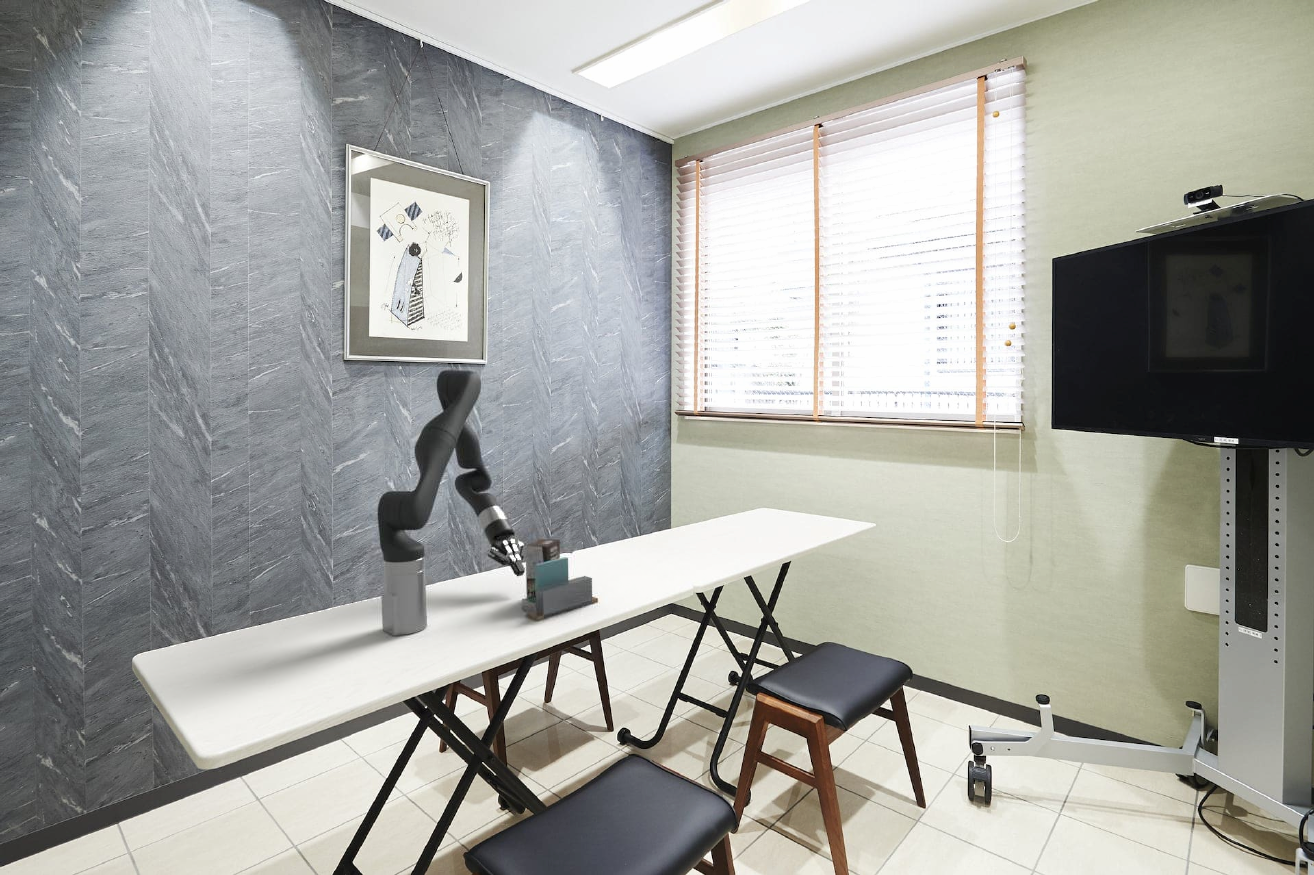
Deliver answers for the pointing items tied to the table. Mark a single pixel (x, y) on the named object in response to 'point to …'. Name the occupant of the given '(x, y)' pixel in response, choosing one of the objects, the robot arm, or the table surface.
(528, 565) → the coffee box
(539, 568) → the teal flat panel
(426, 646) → the table surface
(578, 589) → the grey piece
